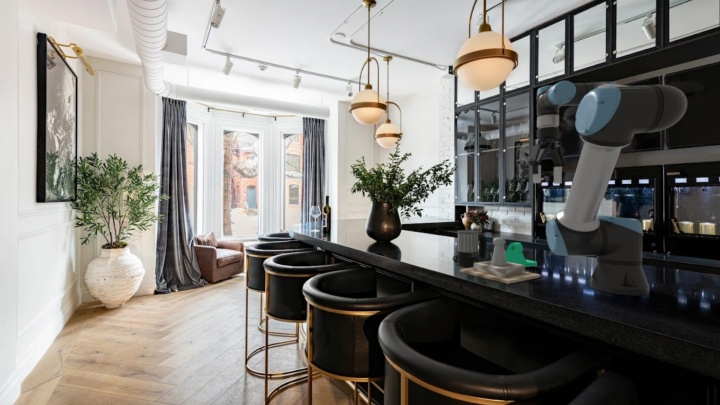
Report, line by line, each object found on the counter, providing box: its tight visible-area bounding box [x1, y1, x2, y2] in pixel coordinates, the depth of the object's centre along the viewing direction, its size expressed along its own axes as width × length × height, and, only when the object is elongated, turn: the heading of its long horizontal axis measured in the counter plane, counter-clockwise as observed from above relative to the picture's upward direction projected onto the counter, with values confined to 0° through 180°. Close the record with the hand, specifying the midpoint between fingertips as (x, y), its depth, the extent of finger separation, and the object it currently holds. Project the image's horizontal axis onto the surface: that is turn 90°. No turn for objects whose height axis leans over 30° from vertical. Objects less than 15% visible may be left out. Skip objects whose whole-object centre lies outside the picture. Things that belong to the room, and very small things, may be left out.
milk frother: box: [452, 229, 487, 268], centre depth 157 cm, size 14×16×15 cm
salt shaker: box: [490, 237, 507, 267], centre depth 134 cm, size 6×6×13 cm
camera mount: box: [505, 242, 538, 268], centre depth 151 cm, size 12×8×10 cm, turn 23°
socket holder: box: [459, 260, 541, 285], centre depth 134 cm, size 22×18×4 cm
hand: (547, 183), depth 136 cm, fingers open, 13 cm apart
